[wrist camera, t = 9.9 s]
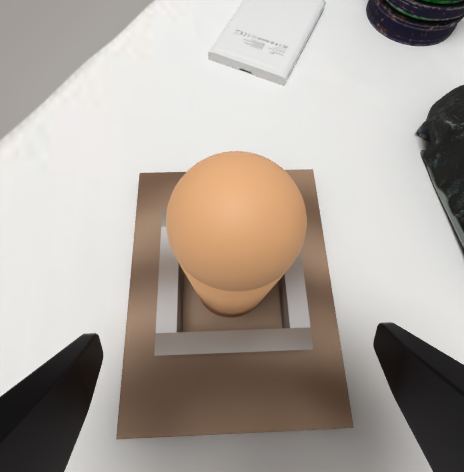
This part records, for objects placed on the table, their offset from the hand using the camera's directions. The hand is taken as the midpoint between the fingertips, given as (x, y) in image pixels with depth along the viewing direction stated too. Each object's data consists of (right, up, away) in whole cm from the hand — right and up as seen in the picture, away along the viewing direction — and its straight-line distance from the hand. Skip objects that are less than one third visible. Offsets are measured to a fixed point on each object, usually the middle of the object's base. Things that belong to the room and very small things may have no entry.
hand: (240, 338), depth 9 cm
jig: (0, 0, +12) cm, 12 cm away
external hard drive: (+4, +24, +22) cm, 33 cm away
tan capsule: (0, 0, +11) cm, 11 cm away
